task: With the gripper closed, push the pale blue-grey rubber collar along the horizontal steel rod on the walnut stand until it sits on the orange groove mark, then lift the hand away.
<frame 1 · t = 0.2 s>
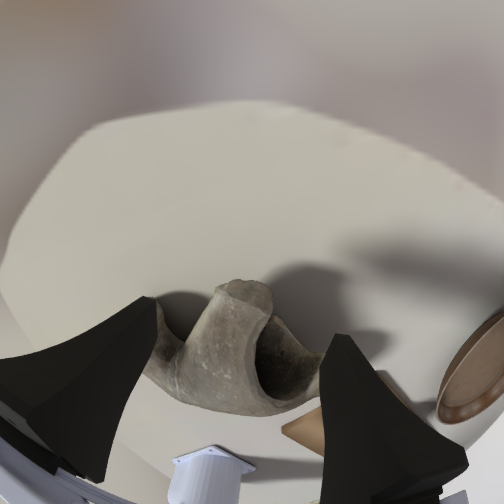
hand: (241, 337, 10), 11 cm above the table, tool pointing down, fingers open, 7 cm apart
plant saucer: (481, 360, 23), on the table
rod stand: (372, 436, 26), on the table
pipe: (228, 331, 23), on the table
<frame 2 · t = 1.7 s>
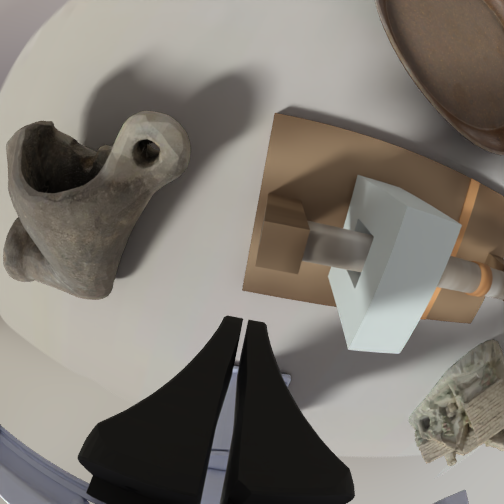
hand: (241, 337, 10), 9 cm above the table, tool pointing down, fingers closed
collar: (382, 257, 13), point 5 cm above the table, slide at 8.0 cm
plant saucer: (461, 43, 11), on the table
ceramic cottage: (455, 388, 26), on the table
rod stand: (406, 238, 18), on the table
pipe: (94, 198, 19), on the table
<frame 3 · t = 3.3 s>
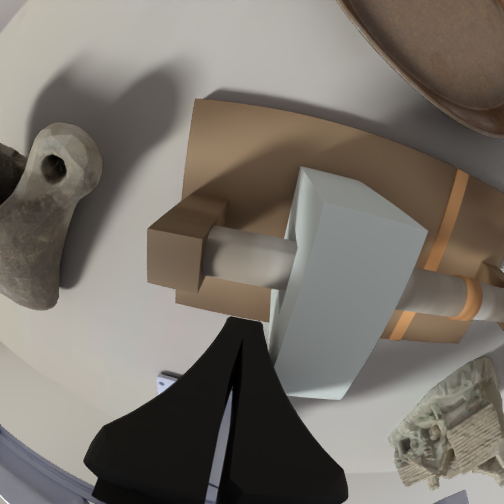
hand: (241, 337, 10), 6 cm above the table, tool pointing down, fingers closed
collar: (323, 272, 11), point 5 cm above the table, slide at 7.9 cm, touching gripper
plant saucer: (441, 9, 8), on the table
ceramic cottage: (441, 407, 23), on the table
rod stand: (373, 244, 15), on the table
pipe: (40, 208, 16), on the table
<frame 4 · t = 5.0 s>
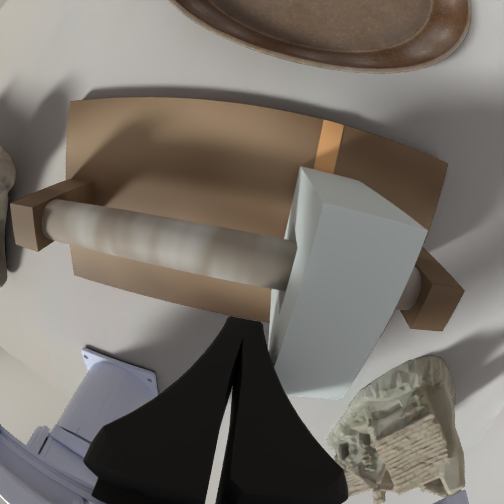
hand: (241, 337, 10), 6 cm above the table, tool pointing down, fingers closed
collar: (323, 272, 11), point 5 cm above the table, slide at -0.3 cm, touching gripper
ceramic cottage: (388, 412, 23), on the table
rod stand: (234, 215, 15), on the table
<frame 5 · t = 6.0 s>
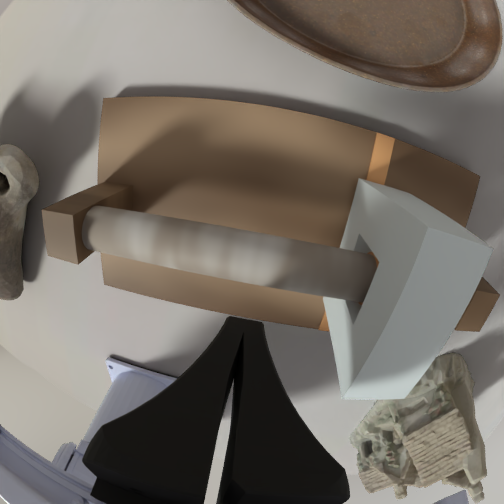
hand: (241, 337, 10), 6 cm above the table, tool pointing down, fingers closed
collar: (388, 282, 11), point 5 cm above the table, slide at -0.5 cm
ceramic cottage: (409, 409, 23), on the table
rod stand: (284, 223, 15), on the table
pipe: (7, 211, 17), on the table
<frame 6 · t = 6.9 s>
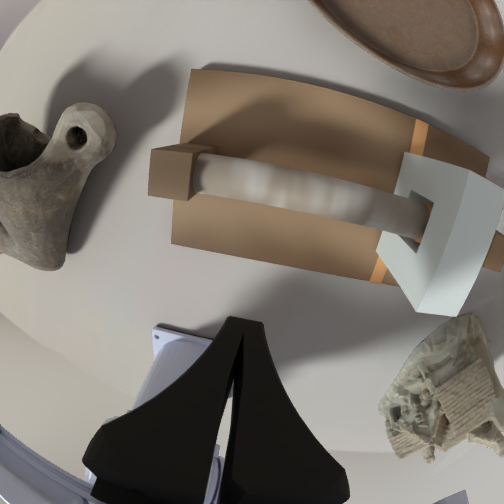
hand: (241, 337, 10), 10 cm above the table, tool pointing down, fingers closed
collar: (434, 226, 13), point 5 cm above the table, slide at -0.5 cm
ceramic cottage: (431, 373, 25), on the table
rod stand: (345, 187, 17), on the table
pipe: (54, 180, 19), on the table
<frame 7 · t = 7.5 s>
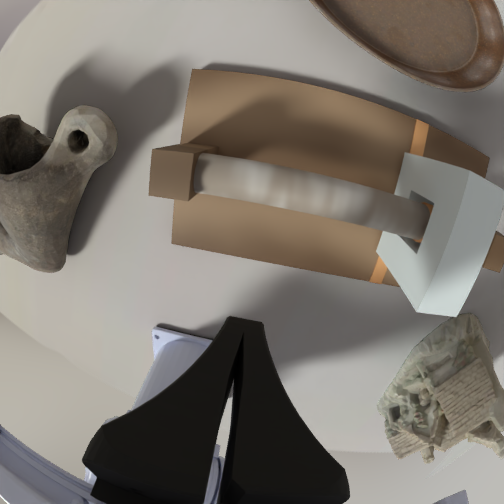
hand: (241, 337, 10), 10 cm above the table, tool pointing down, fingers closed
collar: (434, 226, 13), point 5 cm above the table, slide at -0.5 cm
ceramic cottage: (431, 373, 25), on the table
rod stand: (345, 187, 17), on the table
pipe: (54, 182, 19), on the table
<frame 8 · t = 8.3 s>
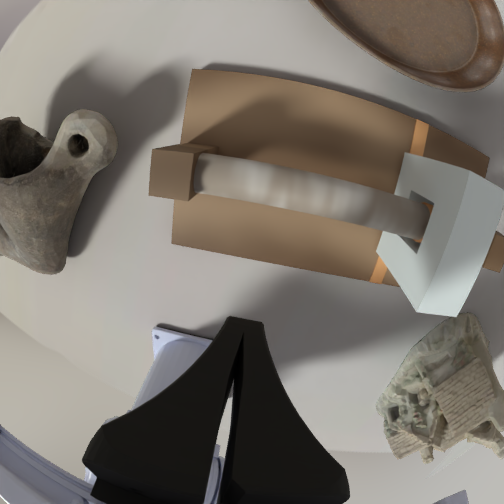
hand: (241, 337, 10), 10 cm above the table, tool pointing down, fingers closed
collar: (434, 226, 13), point 5 cm above the table, slide at -0.5 cm
ceramic cottage: (430, 373, 25), on the table
rod stand: (345, 187, 17), on the table
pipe: (54, 184, 19), on the table
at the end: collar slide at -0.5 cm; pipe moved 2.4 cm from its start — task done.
